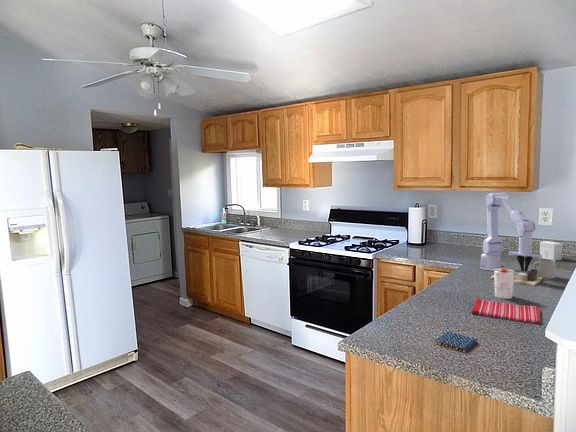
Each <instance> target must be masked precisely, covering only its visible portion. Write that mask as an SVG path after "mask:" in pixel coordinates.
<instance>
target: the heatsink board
mask: <svg viewBox="0 0 576 432" xmlns="http://www.w3.org/2000/svg"><path fill="white" fill-rule="evenodd" d="M500 267H505V265H500ZM500 267H498V268H500ZM537 271H538V269H537V268H536V269H533V268H531V269H530V270H528V273H522V272H514V284H519V285H525V286H530V287H535V286H536V285H537V284H538V283H540V282H541V281H543V279H544V278H543V277H539V275H538V274H537ZM489 279H490V280H493V281H494V274H493V275H491V276H490V278H489Z"/></svg>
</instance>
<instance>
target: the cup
mask: <svg viewBox="0 0 576 432" xmlns="http://www.w3.org/2000/svg"><path fill="white" fill-rule="evenodd" d="M538 260H539V261H535V262H534V263H533V264H532V269H536V270H537V266H538V270H537V275H538V276H539V277H543V279H546V280H547V279H548V280H549V279H550V280H551V279H555V277H556V266H557V265H556V262H557V260H551V259H544V258H541V259H538Z"/></svg>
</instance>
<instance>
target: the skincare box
mask: <svg viewBox="0 0 576 432" xmlns="http://www.w3.org/2000/svg"><path fill="white" fill-rule="evenodd" d="M539 254H541V255H542V258H541V259H551V260H555V261H562V259H563V258H562V257H563V256H562V255H563V243H561V242H554V241H549V240H545V241H543V240H542V241H540V243H539Z"/></svg>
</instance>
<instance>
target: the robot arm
mask: <svg viewBox="0 0 576 432" xmlns="http://www.w3.org/2000/svg"><path fill="white" fill-rule="evenodd" d="M485 207H486V222H487V225H486V227H487V237H486V238H485V239H484V240H483V242H482V243H483V245H482V248H481V249H482V254H481V256H480V268H479V269H480V270H484V271H491V272H494V269H497V268H498V267H501V265H500V264H501V255H502V253H503V252H504V251H505V250H504V249H505V247H504V244H503V240H502V239H501V238H500V237H499V225H498V224H499V222H498V221H499V220H498V210H499V209H500V208H504V210H505V211H506V212H507V213H509V214H510V215H509V217H510V219H511V221H512V222H513V223H514V224H515V225H516V226H515V229H516V231H517V234H518V251H515V250H513V251H512V250H511V251H510V250H509V251H508V256H513V257H514V256H515V257H516V260H517V261H518V264H519V267H520V269H521V271H523V270H525V271H527V270H528V269H529V266H530V264H531V262H532V261H533V259H538V260H539V259H543V258H542V255H541V254H540V253H534V252H532V249H533V246H532V245H533V232H534V231H535V230H536V224H535V222H534V220H530V219H528V217H526V216H525V215H524V214H523V212H522V211H521V210H517V209H516V208H515V206H514V205H513V203H512V202H511V201H510V196H509V195H508V193H507V192H496V193H495V192H494V193H492V192H490V193H488V194H486V196H485ZM528 271H529V270H528Z"/></svg>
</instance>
